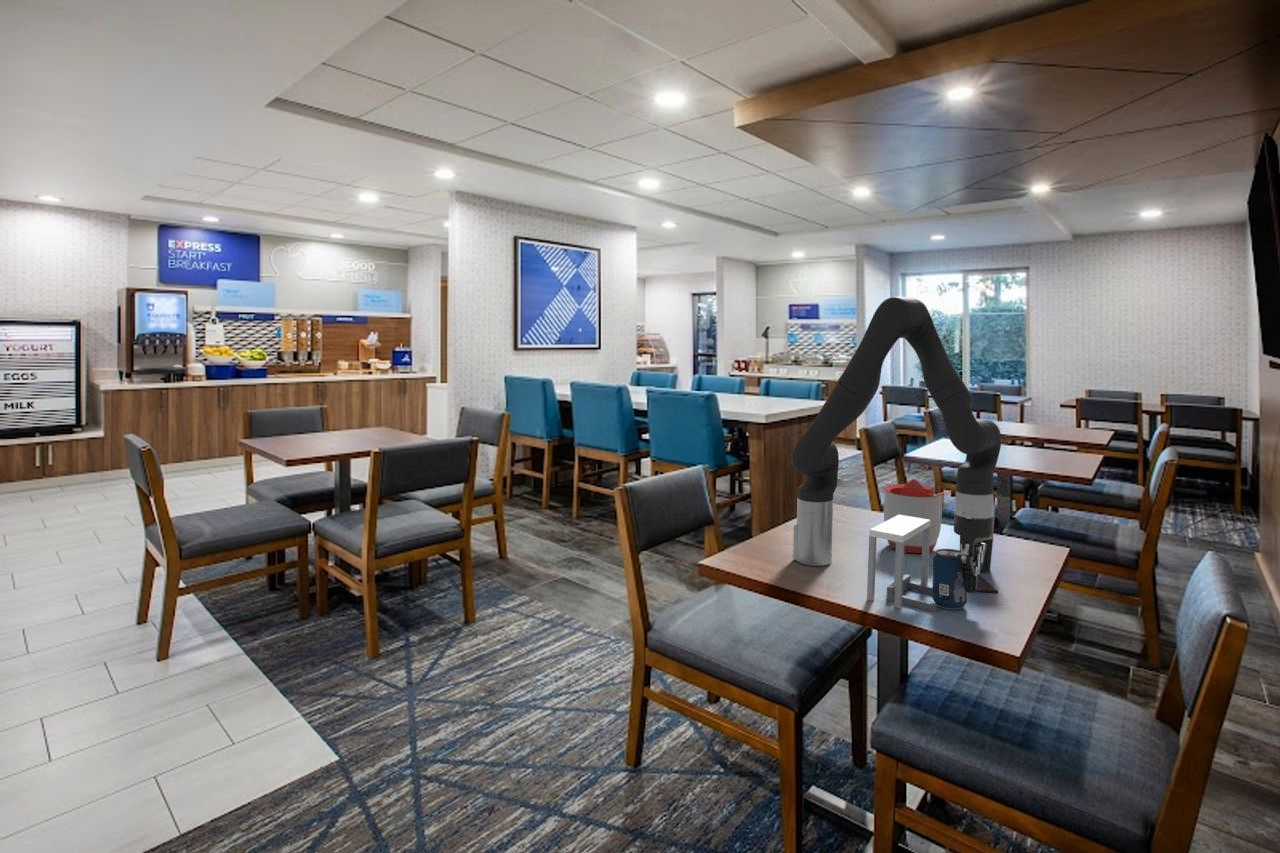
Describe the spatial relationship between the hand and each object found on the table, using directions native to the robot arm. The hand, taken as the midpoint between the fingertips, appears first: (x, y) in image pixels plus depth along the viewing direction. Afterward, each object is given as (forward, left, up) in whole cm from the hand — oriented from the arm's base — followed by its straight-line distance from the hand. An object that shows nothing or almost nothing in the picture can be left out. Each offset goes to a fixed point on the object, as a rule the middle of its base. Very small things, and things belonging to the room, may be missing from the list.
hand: (971, 590), depth 143 cm
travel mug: (-7, +30, -5) cm, 31 cm away
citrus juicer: (-25, +37, -5) cm, 45 cm away
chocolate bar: (-7, +20, -5) cm, 22 cm away
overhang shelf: (-12, 0, -5) cm, 13 cm away
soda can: (-4, 0, -5) cm, 6 cm away
